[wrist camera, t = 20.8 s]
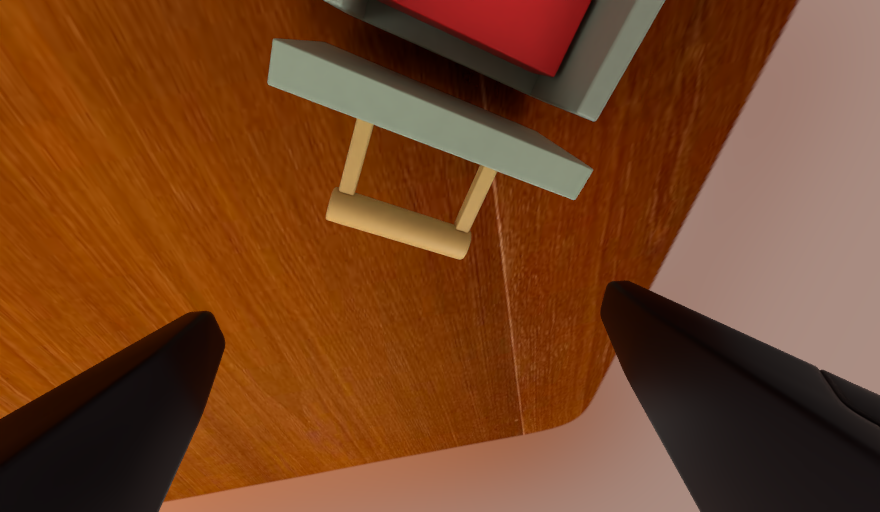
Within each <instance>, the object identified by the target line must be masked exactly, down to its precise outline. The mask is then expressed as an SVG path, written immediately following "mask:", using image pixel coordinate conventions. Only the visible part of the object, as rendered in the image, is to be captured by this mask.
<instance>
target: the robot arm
mask: <svg viewBox="0 0 880 512" xmlns="http://www.w3.org/2000/svg"><path fill="white" fill-rule="evenodd" d="M601 319H602V321H603V324H604V326H605V328H606V331H607V333H608V336H609V338H610V340H611V343H612V345H613V348H614V350H615V352H616V355H617V357H618V359H619V362H620V364H621V366H622V369H623V371H624V373H625V375H626V377H627V379H628V381H629V383H630V385H631V387H632V389H633V390H634V392H635V394H636V396H637V398H638V400H639V401H640V403H641V405H642V407H643V409H644V410H645V412H646V414H647V416H648V418H649V420H650V421H651V423H652V425H653V427H654V428H655V430H656V432H657V434H658V436H659V437H660V439H661V441H662V443H663V445H664V447H665V448H666V450H667V452H668V454H669V456H670V457H671V459H672V461H673V463H674V465H675V467H676V468H677V470H678V472H679V474H680V476H681V477H682V479H683V481H684V483H685V485H686V486H687V488H688V490H689V492H690V494H691V496H692V497H693V499H694V501H695V503H696V505H697V506H698V508H699V510H700V512H880V395H878V394H876V393H874V392H871V391H869V390H867V389H865V388H862V387H860V386H858V385H856V384H853V383H851V382H849V381H847V380H845V379H842V378H840V377H838V376H836V375H834V374H831V373H829V372H827V371H825V370H819V369H818V368H817V367H816V366H814V365H812V364H809V363H807V362H805V361H803V360H801V359H798V358H796V357H794V356H792V355H790V354H788V353H785V352H783V351H781V350H779V349H777V348H774V347H772V346H770V345H768V344H766V343H763V342H761V341H759V340H756V339H755V338H752V337H750V336H748V335H746V334H744V333H741V332H739V331H737V330H735V329H732V328H730V327H728V326H726V325H724V324H722V323H720V322H717V321H715V320H713V319H711V318H709V317H707V316H704V315H702V314H700V313H698V312H696V311H693V310H691V309H689V308H687V307H685V306H682V305H680V304H678V303H676V302H673V301H672V300H669V299H667V298H665V297H663V296H661V295H658V294H656V293H654V292H652V291H650V290H647V289H645V288H643V287H641V286H639V285H637V284H634V283H632V282H630V281H612V282H610V283H608V285H607V287H606V290H605V294H604V298H603V302H602V306H601ZM224 349H225V339H224V336H223V334H222V332H221V330H220V328H219V325H218V323H217V321H216V319H215V317H214V315H213V314H212V313H211V312H209V311H198V312H189V313H187V314H185V315H183V316H181V317H179V318H178V319H176V320H174V321H172V322H171V323H169V324H167V325H165V326H163V327H162V328H160V329H158V330H156V331H155V332H153V333H151V334H149V335H148V336H146V337H144V338H142V339H141V340H139V341H137V342H135V343H133V344H132V345H130V346H128V347H126V348H125V349H123V350H121V351H119V352H118V353H116V354H114V355H112V356H111V357H109V358H107V359H105V360H104V361H102V362H100V363H98V364H96V365H95V366H93V367H91V368H89V369H88V370H86V371H84V372H82V373H81V374H79V375H77V376H75V377H74V378H72V379H70V380H68V381H66V382H65V383H63V384H61V385H59V386H58V387H56V388H54V389H52V390H51V391H49V392H47V393H45V394H44V395H42V396H40V397H38V398H37V399H35V400H33V401H31V402H29V403H28V404H26V405H24V406H22V407H21V408H19V409H17V410H15V411H14V412H12V413H10V414H8V415H7V416H5V417H3V418H1V419H0V512H159V510H160V507H161V505H162V503H163V501H164V499H165V496H166V494H167V492H168V490H169V488H170V485H171V483H172V481H173V479H174V476H175V474H176V472H177V470H178V468H179V465H180V463H181V461H182V459H183V457H184V454H185V452H186V450H187V448H188V445H189V443H190V441H191V439H192V437H193V434H194V432H195V430H196V428H197V426H198V423H199V421H200V419H201V416H202V414H203V411H204V408H205V406H206V403H207V400H208V397H209V394H210V391H211V388H212V385H213V382H214V379H215V376H216V373H217V370H218V367H219V364H220V361H221V358H222V355H223V352H224Z"/></svg>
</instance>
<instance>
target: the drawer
mask: <svg viewBox="0 0 880 512" xmlns="http://www.w3.org/2000/svg"><path fill="white" fill-rule="evenodd" d="M323 1H325V2H327V3H329V4H331V5H332V6H334V7H336V8H338V9H340V10H342V11H343V12H345V13H347V14H349V15H351V16H353V17H356V18H358V19H360V20H362V21H365V22H367V23H369V24H371V25H373V26H376V27H378V28H380V29H382V30H385V31H387V32H389V33H391V34H394V35H396V36H398V37H400V38H402V39H405V40H407V41H409V42H411V43H414V44H416V45H418V46H420V47H422V48H425V49H427V50H429V51H431V52H434V53H436V54H438V55H440V56H443V57H445V58H447V59H449V60H451V61H454V62H456V63H458V64H460V65H463V66H465V67H467V68H469V69H471V70H474V71H476V72H478V73H480V74H483V75H485V76H487V77H489V78H492V79H494V80H496V81H498V82H500V83H503V84H505V85H507V86H509V87H512V88H514V89H516V90H518V91H520V92H523V93H525V94H527V95H529V96H532V97H534V98H536V99H538V100H541V101H543V102H546V103H548V104H551V105H553V106H556V107H558V108H561V109H563V110H566V111H568V112H571V113H573V114H576V115H578V116H581V117H583V118H586V119H588V120H591V121H596V120H597V119H598V117H599V115H600V114H601V112H602V110H603V108H604V107H605V105H606V103H607V101H608V100H609V98H610V96H611V94H612V93H613V91H614V89H615V87H616V86H617V84H618V82H619V80H620V79H621V77H622V75H623V73H624V72H625V70H626V68H627V66H628V65H629V63H630V61H631V59H632V58H633V56H634V54H635V52H636V51H637V49H638V47H639V45H640V44H641V42H642V40H643V38H644V37H645V35H646V33H647V31H648V30H649V28H650V26H651V24H652V23H653V21H654V19H655V17H656V16H657V14H658V12H659V10H660V9H661V7H662V5H663V3H664V2H665V0H592V1H591V3H590V5H589V7H588V9H587V11H586V13H585V15H584V17H583V19H582V21H581V23H580V25H579V27H578V30H577V32H576V34H575V36H574V38H573V40H572V42H571V44H570V46H569V48H568V50H567V52H566V54H565V56H564V58H563V60H562V62H561V64H560V66H559V68H558V70H557V73H556V75H555V76H554V77H549V76H544V75H539V74H534V73H531V72H529V71H527V70H524V69H522V68H520V67H518V66H516V65H514V64H512V63H510V62H507V61H505V60H503V59H501V58H499V57H497V56H495V55H492V54H490V53H488V52H486V51H484V50H482V49H480V48H478V47H475V46H473V45H471V44H469V43H467V42H465V41H463V40H460V39H458V38H456V37H454V36H452V35H450V34H448V33H446V32H443V31H441V30H439V29H437V28H435V27H433V26H431V25H428V24H426V23H424V22H422V21H420V20H418V19H416V18H413V17H411V16H409V15H407V14H405V13H403V12H401V11H399V10H396V9H394V8H392V7H390V6H388V5H386V4H384V3H381V2H379V1H377V0H323ZM267 83H268V84H269V85H270V86H273V87H276V88H278V89H281V90H284V91H286V92H289V93H292V94H294V95H297V96H300V97H302V98H305V99H308V100H310V101H313V102H315V103H318V104H321V105H323V106H326V107H329V108H331V109H334V110H337V111H339V112H342V113H345V114H347V115H350V116H353V117H355V118H357V120H356V124H355V128H354V132H353V135H352V139H351V143H350V147H349V151H348V155H347V159H346V163H345V167H344V171H343V175H342V179H341V183H340V187H335V188H334V190H333V192H332V195H331V198H330V201H329V205H328V208H327V213H326V219H327V220H329V221H332V222H336V223H339V224H342V225H346V226H349V227H352V228H356V229H359V230H362V231H366V232H369V233H372V234H376V235H379V236H382V237H386V238H389V239H392V240H396V241H399V242H402V243H406V244H409V245H413V246H416V247H419V248H423V249H426V250H429V251H433V252H436V253H439V254H443V255H446V256H449V257H453V258H456V259H463V258H464V256H465V255H466V253H467V251H468V249H469V246H470V242H471V232H470V228H471V226H472V224H473V221H474V219H475V217H476V215H477V213H478V211H479V209H480V207H481V205H482V202H483V200H484V198H485V196H486V194H487V192H488V190H489V188H490V185H491V183H492V181H493V179H494V177H495V175H496V173H497V171H498V172H501V173H503V174H506V175H509V176H511V177H514V178H517V179H519V180H522V181H525V182H527V183H530V184H532V185H535V186H538V187H540V188H543V189H546V190H548V191H551V192H554V193H556V194H559V195H562V196H564V197H567V198H570V199H572V200H575V199H576V198H577V196H578V194H579V193H580V191H581V190H582V188H583V186H584V185H585V183H586V181H587V180H588V178H589V176H590V175H591V173H592V171H593V169H592V168H591V167H589V166H588V165H586V164H585V163H583V162H582V161H580V160H579V159H577V158H576V157H574V156H573V155H571V154H570V153H568V152H566V151H565V150H563V149H562V148H560V147H559V146H557V145H556V144H554V143H553V142H551V141H550V140H548V139H547V138H545V137H544V136H542V135H541V134H539V133H538V132H536V131H534V130H532V129H529V128H527V127H525V126H522V125H520V124H517V123H515V122H513V121H510V120H508V119H506V118H503V117H501V116H499V115H496V114H494V113H491V112H489V111H487V110H484V109H482V108H480V107H477V106H475V105H472V104H470V103H468V102H465V101H463V100H461V99H458V98H456V97H454V96H451V95H449V94H446V93H444V92H442V91H439V90H437V89H435V88H432V87H430V86H427V85H425V84H423V83H420V82H418V81H416V80H413V79H411V78H409V77H406V76H404V75H401V74H399V73H397V72H394V71H392V70H390V69H387V68H385V67H382V66H380V65H378V64H375V63H373V62H371V61H368V60H366V59H364V58H361V57H359V56H356V55H354V54H352V53H349V52H347V51H345V50H342V49H340V48H337V47H335V46H333V45H330V44H328V43H326V42H318V41H304V40H290V39H276V38H274V39H273V43H272V51H271V59H270V66H269V74H268V81H267ZM374 125H376V126H379V127H382V128H384V129H387V130H390V131H392V132H395V133H398V134H400V135H403V136H405V137H408V138H411V139H413V140H416V141H419V142H421V143H424V144H427V145H429V146H432V147H435V148H437V149H440V150H442V151H445V152H448V153H450V154H453V155H456V156H458V157H461V158H464V159H466V160H469V161H472V162H474V163H477V164H480V167H479V169H478V171H477V173H476V176H475V178H474V180H473V182H472V185H471V187H470V189H469V191H468V194H467V196H466V198H465V200H464V203H463V205H462V207H461V209H460V212H459V214H458V216H457V218H456V221H455V225H453V224H450V223H447V222H444V221H441V220H437V219H434V218H431V217H428V216H425V215H422V214H419V213H416V212H413V211H410V210H407V209H404V208H400V207H397V206H394V205H391V204H388V203H385V202H382V201H379V200H376V199H373V198H370V197H367V196H363V195H360V194H357V193H355V190H356V187H357V183H358V179H359V176H360V172H361V169H362V165H363V162H364V158H365V154H366V151H367V147H368V144H369V140H370V136H371V133H372V129H373V126H374Z"/></svg>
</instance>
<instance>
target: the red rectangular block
mask: <svg viewBox="0 0 880 512" xmlns="http://www.w3.org/2000/svg"><path fill="white" fill-rule="evenodd" d="M377 1H379V2H381V3H384V4H386V5H388V6H390V7H392V8H394V9H396V10H399V11H401V12H403V13H405V14H407V15H409V16H411V17H413V18H416V19H418V20H420V21H422V22H424V23H426V24H428V25H431V26H433V27H435V28H437V29H439V30H441V31H443V32H446V33H448V34H450V35H452V36H454V37H456V38H458V39H460V40H463V41H465V42H467V43H469V44H471V45H473V46H475V47H478V48H480V49H482V50H484V51H486V52H488V53H490V54H492V55H495V56H497V57H499V58H501V59H503V60H505V61H507V62H510V63H512V64H514V65H516V66H518V67H520V68H522V69H524V70H527V71H529V72H531V73H534V74H539V75H544V76H549V77H554V76H555V75H556V73H557V70H558V68H559V66H560V64H561V62H562V60H563V58H564V56H565V54H566V52H567V50H568V48H569V46H570V44H571V42H572V40H573V38H574V36H575V34H576V32H577V30H578V27H579V25H580V23H581V21H582V19H583V17H584V15H585V13H586V11H587V9H588V7H589V5H590V3H591V1H592V0H377Z"/></svg>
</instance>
